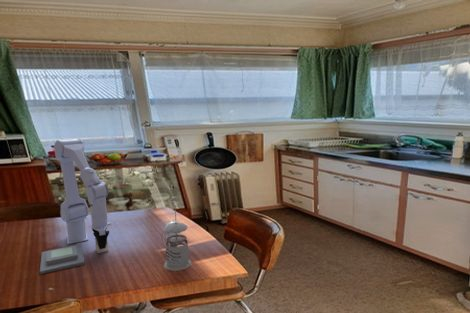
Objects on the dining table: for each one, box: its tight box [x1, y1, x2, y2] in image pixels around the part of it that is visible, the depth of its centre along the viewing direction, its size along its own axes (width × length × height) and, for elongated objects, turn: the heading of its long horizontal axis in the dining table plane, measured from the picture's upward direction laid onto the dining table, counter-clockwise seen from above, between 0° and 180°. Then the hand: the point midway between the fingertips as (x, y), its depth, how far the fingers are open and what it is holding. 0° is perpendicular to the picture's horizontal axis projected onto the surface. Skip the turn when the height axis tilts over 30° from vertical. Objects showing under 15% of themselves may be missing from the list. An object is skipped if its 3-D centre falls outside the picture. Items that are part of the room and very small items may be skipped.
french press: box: [160, 196, 192, 272], centre depth 113 cm, size 10×12×25 cm
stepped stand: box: [39, 243, 86, 275], centre depth 120 cm, size 18×14×3 cm
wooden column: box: [94, 237, 109, 254], centre depth 126 cm, size 4×4×6 cm
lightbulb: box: [165, 220, 181, 244], centre depth 128 cm, size 6×6×11 cm
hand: (101, 246), depth 127 cm, fingers closed on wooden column, 4 cm apart
